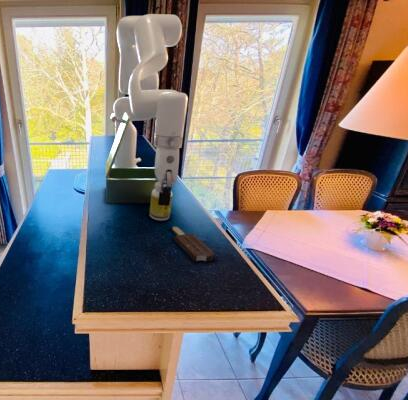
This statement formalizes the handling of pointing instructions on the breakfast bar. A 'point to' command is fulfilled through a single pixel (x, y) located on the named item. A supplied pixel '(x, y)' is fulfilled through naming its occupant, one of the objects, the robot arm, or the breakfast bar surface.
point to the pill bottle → (159, 210)
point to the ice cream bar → (193, 246)
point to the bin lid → (116, 141)
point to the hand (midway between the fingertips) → (161, 199)
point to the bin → (130, 185)
